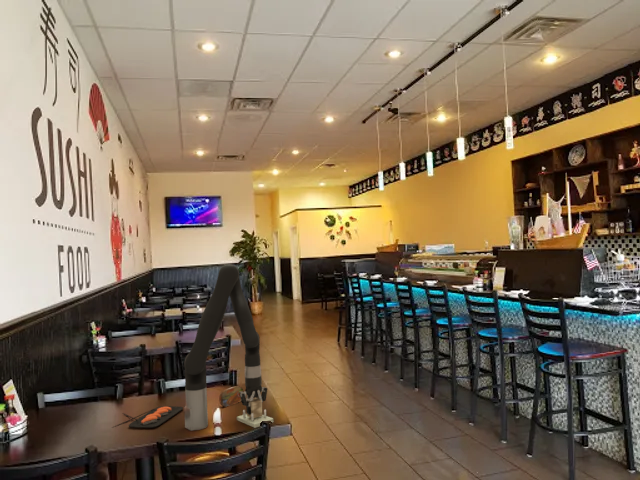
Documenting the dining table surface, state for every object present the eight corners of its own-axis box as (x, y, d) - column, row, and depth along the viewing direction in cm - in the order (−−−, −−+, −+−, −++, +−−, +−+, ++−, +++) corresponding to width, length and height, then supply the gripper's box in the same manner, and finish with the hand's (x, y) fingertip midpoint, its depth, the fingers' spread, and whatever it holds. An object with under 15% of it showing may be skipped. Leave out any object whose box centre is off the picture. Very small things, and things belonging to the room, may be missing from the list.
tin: (222, 408, 249) (222, 391, 249) (218, 407, 250) (217, 390, 251) (244, 400, 260) (243, 384, 261) (240, 399, 262) (239, 383, 263)
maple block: (253, 418, 224) (252, 402, 225) (247, 415, 228) (246, 400, 228) (262, 415, 228) (261, 400, 228) (256, 413, 231) (255, 398, 232)
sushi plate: (155, 431, 222) (155, 422, 222) (95, 429, 228) (94, 421, 228) (185, 410, 250) (185, 402, 250) (131, 409, 256) (131, 401, 256)
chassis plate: (254, 427, 219) (254, 416, 219) (236, 420, 230) (236, 409, 231) (273, 422, 225) (273, 410, 226) (255, 414, 237) (254, 404, 237)
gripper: (243, 379, 221) (245, 418, 221) (270, 373, 230) (272, 410, 230) (235, 376, 227) (236, 414, 226) (261, 371, 236) (263, 407, 236)
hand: (254, 412), depth 228 cm, fingers closed on maple block, 5 cm apart
